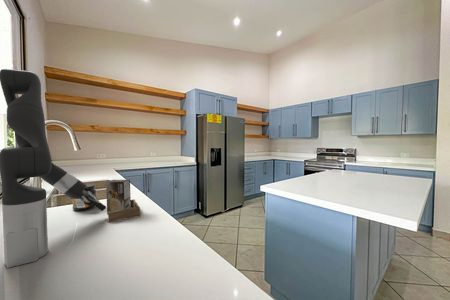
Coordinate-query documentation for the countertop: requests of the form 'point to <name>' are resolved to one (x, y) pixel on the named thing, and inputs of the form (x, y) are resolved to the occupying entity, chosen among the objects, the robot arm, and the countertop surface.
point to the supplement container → (79, 204)
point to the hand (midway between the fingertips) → (104, 208)
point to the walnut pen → (125, 213)
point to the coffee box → (118, 195)
